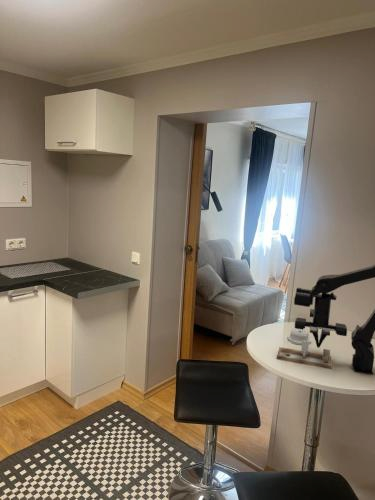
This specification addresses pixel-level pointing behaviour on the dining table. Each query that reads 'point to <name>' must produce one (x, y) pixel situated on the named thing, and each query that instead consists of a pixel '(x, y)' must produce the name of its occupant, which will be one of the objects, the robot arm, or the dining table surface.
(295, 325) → the robot arm
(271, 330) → the dining table surface
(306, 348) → the block
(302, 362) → the board
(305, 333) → the mechanical component
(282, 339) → the dining table surface
